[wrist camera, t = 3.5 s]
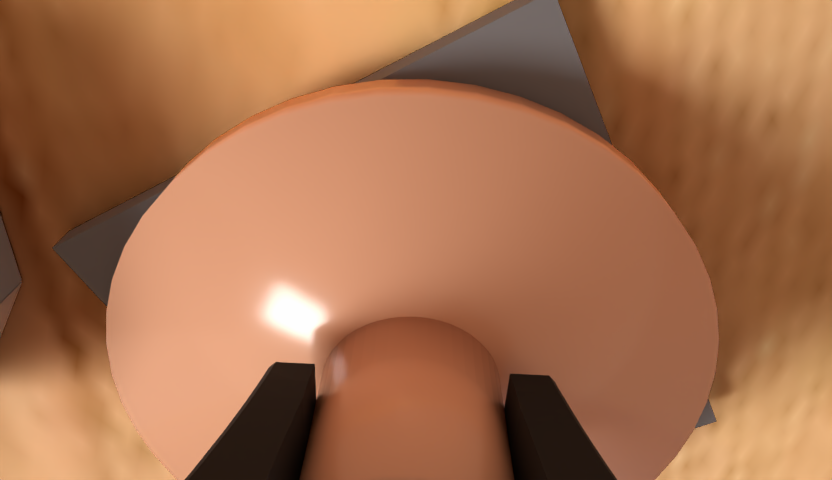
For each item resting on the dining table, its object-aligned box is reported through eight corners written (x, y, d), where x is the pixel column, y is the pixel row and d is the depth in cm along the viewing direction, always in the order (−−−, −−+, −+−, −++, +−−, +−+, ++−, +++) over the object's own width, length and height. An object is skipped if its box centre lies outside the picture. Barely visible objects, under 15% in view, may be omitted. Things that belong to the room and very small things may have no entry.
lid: (757, 446, 12) (879, 656, 9) (320, 577, 15) (288, 781, 11) (584, -60, 8) (699, -13, 4) (-2, 249, 10) (-208, 426, 7)
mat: (705, 399, 13) (716, 421, 12) (331, 520, 15) (328, 543, 15) (546, -17, 9) (553, -10, 8) (69, 230, 11) (51, 248, 11)
